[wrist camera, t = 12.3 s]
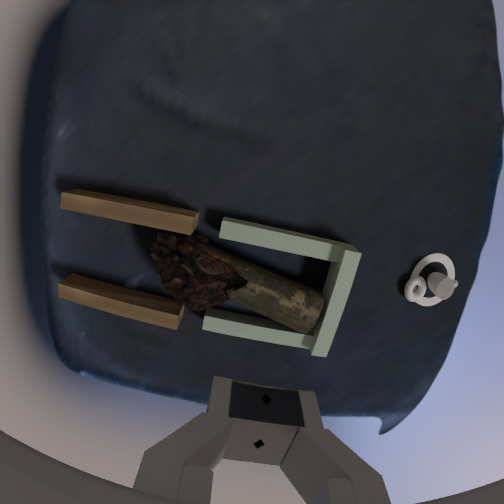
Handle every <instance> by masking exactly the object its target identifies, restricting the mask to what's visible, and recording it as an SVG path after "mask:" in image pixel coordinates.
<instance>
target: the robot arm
mask: <svg viewBox="0 0 504 504" xmlns="http://www.w3.org/2000/svg"><path fill="white" fill-rule="evenodd" d="M222 458H224V459H230V460H238V461H247V462H255V463H262V464H270V465H279V466H280V468H281V469H282V471H283V472H284V474H285V475H286V476H287V478H288V479H289V481H290V482H291V483H292V485H293V486H294V487H295V488H296V490H297V491H298V493H299V494H300V495H301V497H302V498H303V499H304V501H305V502H306V503H307V504H391V502H390V499H389V496H388V493H387V490H386V487H385V484H384V481H383V478H382V475H380V474H379V473H378V472H377V471H376V470H374V469H373V468H372V467H371V466H370V465H368V464H367V463H366V462H365V461H364V460H363V459H361V458H360V457H359V456H358V455H357V454H356V453H354V452H353V451H352V450H351V449H350V448H349V447H348V446H346V445H345V444H344V443H343V442H342V441H341V440H340V439H339V438H337V437H336V436H335V435H334V434H333V433H332V432H331V431H330V430H328V429H324V428H323V423H322V420H321V415H320V411H319V407H318V403H317V399H316V395H315V393H314V392H313V391H303V390H290V389H283V388H276V387H269V386H264V385H258V384H253V383H248V382H243V381H238V380H233V379H232V380H231V379H228V378H223V377H218V376H214V378H213V383H212V387H211V392H210V396H209V401H208V406H207V410H206V413H203V412H202V413H201V414H199V415H198V416H197V417H195V418H194V419H192V420H191V421H190V422H188V423H187V424H185V425H184V426H182V427H181V428H179V429H178V430H176V431H175V432H173V433H172V434H170V435H169V436H167V437H166V438H164V439H163V440H162V441H160V442H158V443H157V444H155V445H154V446H152V447H151V448H149V449H148V450H146V451H145V453H144V455H143V458H142V462H141V464H140V468H139V471H138V473H137V476H136V479H135V483H134V486H133V488H129V487H126V486H123V485H120V484H117V483H114V482H111V481H108V480H105V479H102V478H99V477H97V476H94V475H91V474H89V473H86V472H84V471H81V470H79V469H76V468H74V467H71V466H69V465H67V464H64V463H62V462H60V461H58V460H56V459H54V458H51V457H49V456H47V455H45V454H43V453H41V452H39V451H37V450H35V449H33V448H31V447H29V446H27V445H26V444H24V443H22V442H20V441H18V440H16V439H15V438H13V437H11V436H9V435H8V434H6V433H4V432H3V431H1V430H0V504H210V499H211V489H212V479H213V472H212V471H211V470H212V469H213V468H214V467H215V466H216V465H217V464H218V463H219V462H220V461H221V460H222ZM417 504H504V479H501V480H499V481H496V482H493V483H490V484H487V485H485V486H482V487H478V488H475V489H472V490H469V491H466V492H462V493H459V494H455V495H451V496H447V497H444V498H439V499H435V500H431V501H426V502H421V503H417Z"/></svg>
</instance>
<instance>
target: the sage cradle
mask: <svg viewBox="0 0 504 504" xmlns="http://www.w3.org/2000/svg"><path fill="white" fill-rule="evenodd" d="M219 238H223V239H228V240H233V241H238V242H242V243H247V244H252V245H257V246H262V247H266V248H271V249H276V250H280V251H285V252H290V253H295V254H299V255H304V256H309V257H313V258H318V259H323V260H327V261H331V264H330V268H329V271H328V275H327V278H326V281H325V285H324V288H323V291H322V293H323V294H322V295H323V301H324V302H323V307H322V310H321V312H320V315H319V317H318V319H317V321H316V323H315V325H314V327H313V328H312V330H310V331H309V332H308V333H301V332H298V331H296V330H294V329H292V328H290V327H287V326H285V325H283V324H281V323H279V322H277V321H274V320H270V319H265V318H260V317H254V316H249V315H244V314H239V313H234V312H229V311H224V310H219V309H215V308H207V310H206V313H205V316H204V322H203V328H202V329H203V330H208V331H213V332H217V333H222V334H227V335H232V336H237V337H243V338H248V339H253V340H259V341H264V342H270V343H276V344H282V345H288V346H294V347H301V348H307V349H310V352H311V355H314V356H321V357H326V356H327V354H328V351H329V348H330V346H331V343H332V340H333V338H334V335H335V332H336V329H337V327H338V324H339V321H340V318H341V315H342V313H343V310H344V307H345V304H346V301H347V298H348V295H349V292H350V289H351V286H352V283H353V280H354V276H355V273H356V270H357V267H358V264H359V260H360V257H361V253H360V252H359V251H358V250H357V249H356V248H355V247H354V246H353V245H351V244H347V243H342V242H338V241H334V240H329V239H325V238H320V237H316V236H312V235H307V234H303V233H298V232H294V231H289V230H285V229H280V228H276V227H271V226H266V225H262V224H257V223H252V222H248V221H243V220H238V219H233V218H228V217H224V218H223V220H222V224H221V230H220V235H219Z"/></svg>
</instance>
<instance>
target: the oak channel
mask: <svg viewBox="0 0 504 504" xmlns="http://www.w3.org/2000/svg"><path fill="white" fill-rule="evenodd" d="M60 208H61V209H66V210H71V211H76V212H80V213H85V214H90V215H95V216H100V217H105V218H110V219H115V220H120V221H124V222H129V223H134V224H139V225H144V226H149V227H154V228H158V229H163V230H168V231H173V232H178V233H183V234H187V235H191V234H192V233H193V232H194V231H195V229H196V228H197V224H198V219H199V213H200V212H199V211H194V210H189V209H184V208H179V207H174V206H168V205H163V204H158V203H153V202H148V201H142V200H137V199H131V198H126V197H121V196H115V195H110V194H104V193H98V192H93V191H87V190H81V189H75V190H70V191H65V192H62V195H61V207H60ZM58 292H59V297H60V298H63V299H67V300H70V301H73V302H76V303H79V304H83V305H86V306H89V307H92V308H96V309H99V310H103V311H106V312H110V313H113V314H117V315H120V316H124V317H128V318H131V319H135V320H139V321H143V322H147V323H151V324H155V325H159V326H163V327H167V328H171V329H175V330H177V328H178V326H179V323H180V321H181V319H182V317H183V312H184V303H182V302H181V303H180V304H179V303H178V301H176V300H174V299H169V298H165V297H161V296H157V295H153V294H148V293H144V292H140V291H136V290H132V289H128V288H124V287H121V286H117V285H113V284H109V283H105V282H101V281H98V280H94V279H90V278H87V277H83V276H80V275H76V274H73V273H72V274H71V275H70V276H68V277H67V278H65V279H64V280H62V281H61V282H60V283H58Z"/></svg>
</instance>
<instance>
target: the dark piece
mask: <svg viewBox="0 0 504 504" xmlns="http://www.w3.org/2000/svg"><path fill="white" fill-rule="evenodd" d="M150 251H151V256H152V258H153V260H154V262H155V264H156V265H155V270H156V273H159V274H160V275H161V282H162V285H163V286H164V287H165V289H166V291H168V292H169V293H171V294H172V295H173V297H174V299H175V300H176V301H178V303H179V304H180V303H181V302H182V303H184V305H185V306H186V307H187V308H188V309H191V310H192V311H193V310H195V311H201V310H204V309H207V308H210V307H213V306H215V305H219V304H221V303H223V302H225V301H227V300H228V299H230V300H231V301H233V302H235V303H237V304H239V305H242V306H244V307H246V308H248V309H251V310H253V311H255V312H257V313H259V314H261V315H264V316H266V317H268V318H270V319H272V320H274V321H277V322H279V323H281V324H283V325H285V326H287V327H290V328H292V329H294V330H296V331H298V332H301V333H308V332H309V331H310V330H312V328H313V327H314V325H315V323H316V321H317V319H318V317H319V315H320V312H321V310H322V307H323V302H324V301H323V295H322V294H323V293H322V292H321V291H319V290H316V289H313V288H310V287H308V286H305V285H303V284H300V283H298V282H295V281H293V280H290V279H288V278H285V277H283V276H280V275H278V274H275V273H273V272H270V271H268V270H265V269H263V268H261V267H259V266H256V265H254V264H252V263H249V262H247V261H245V260H242V259H240V258H238V257H235V256H233V255H231V254H228V253H226V252H224V251H222V250H219V249H217V248H215V247H214V246H212V245H211V244H210V243H209V242H208V239H207V237H205V236H204V235H202V234H200V233H194V232H193V233H192V234H191V235H187V234H183V233H178V232H172V231H168V230H163V229H161V231H160V232H158V233H157V238H156V240H155V241H154V243H153V244H152V246H150Z"/></svg>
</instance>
